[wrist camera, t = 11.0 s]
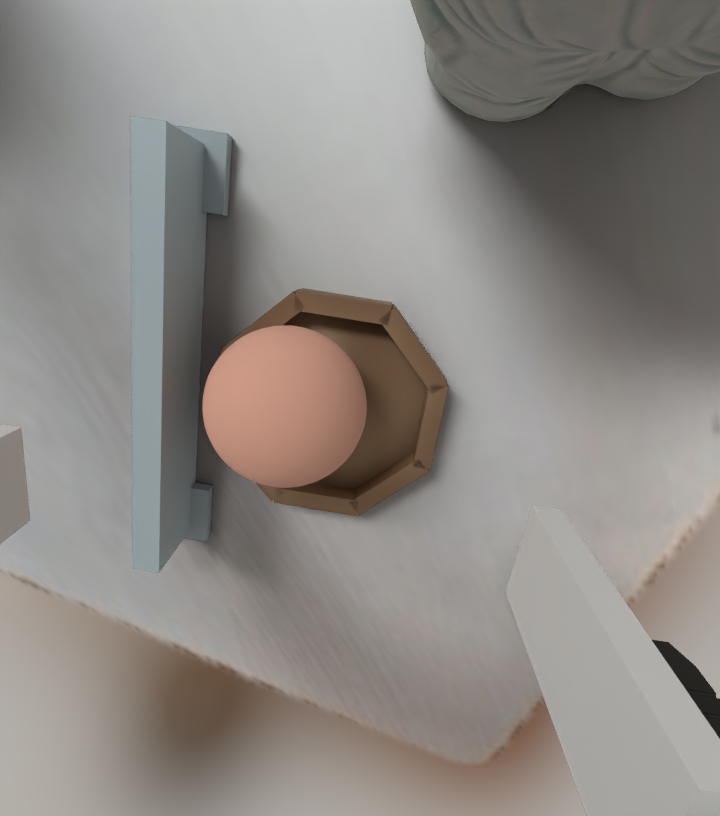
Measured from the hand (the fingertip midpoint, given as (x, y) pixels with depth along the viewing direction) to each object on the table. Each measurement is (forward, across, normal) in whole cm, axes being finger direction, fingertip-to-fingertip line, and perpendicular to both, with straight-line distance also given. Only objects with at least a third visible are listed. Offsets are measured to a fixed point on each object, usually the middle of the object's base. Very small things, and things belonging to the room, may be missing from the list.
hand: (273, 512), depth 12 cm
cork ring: (+11, 0, 0) cm, 11 cm away
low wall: (+11, -6, +1) cm, 13 cm away
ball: (+10, +1, 0) cm, 10 cm away
